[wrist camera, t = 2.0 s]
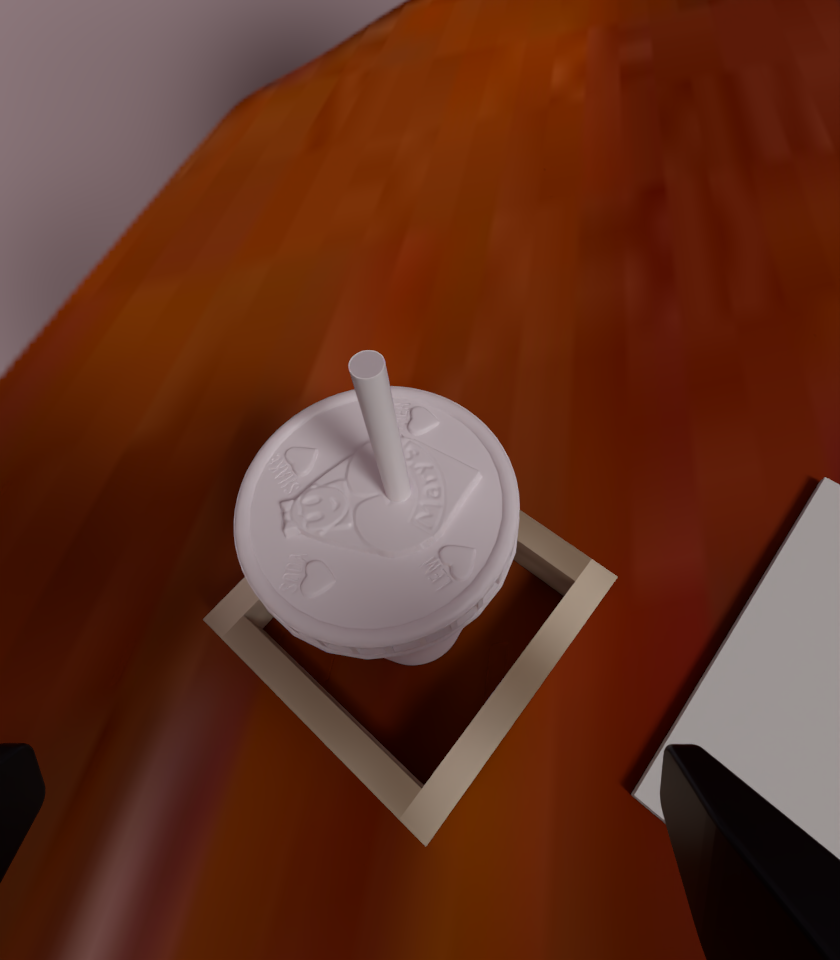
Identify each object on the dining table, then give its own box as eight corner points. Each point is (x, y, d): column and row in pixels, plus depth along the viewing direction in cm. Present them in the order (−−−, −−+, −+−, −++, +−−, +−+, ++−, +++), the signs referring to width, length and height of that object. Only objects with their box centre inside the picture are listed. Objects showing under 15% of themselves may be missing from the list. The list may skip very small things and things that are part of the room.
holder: (430, 839, 17) (426, 846, 16) (225, 632, 21) (202, 619, 19) (604, 593, 20) (617, 576, 19) (400, 450, 24) (395, 424, 22)
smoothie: (522, 682, 19) (618, 514, 7) (340, 726, 19) (104, 634, 7) (474, 517, 22) (481, 195, 10) (317, 553, 22) (125, 271, 10)
